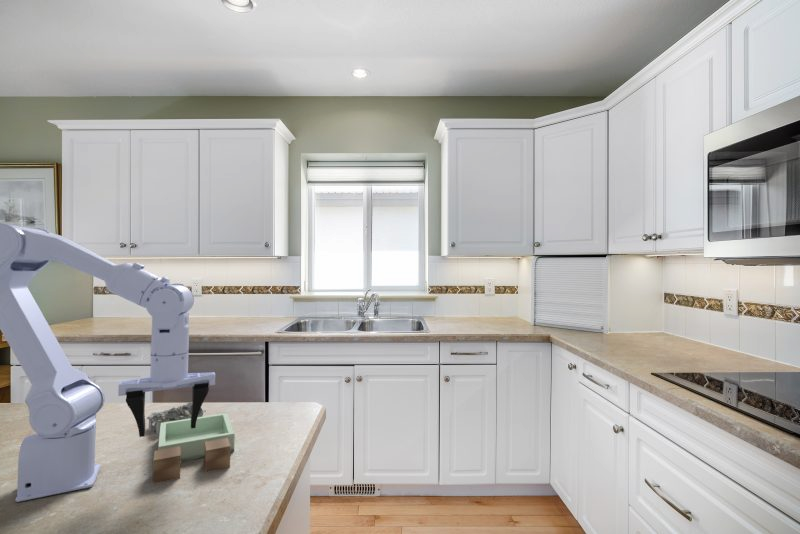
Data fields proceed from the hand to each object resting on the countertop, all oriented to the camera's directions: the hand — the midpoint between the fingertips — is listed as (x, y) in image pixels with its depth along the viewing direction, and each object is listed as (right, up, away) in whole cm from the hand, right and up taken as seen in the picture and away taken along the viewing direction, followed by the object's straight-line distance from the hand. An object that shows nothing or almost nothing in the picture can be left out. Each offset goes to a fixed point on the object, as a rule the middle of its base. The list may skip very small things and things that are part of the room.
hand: (168, 430), depth 69 cm
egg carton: (-11, -9, +22) cm, 26 cm away
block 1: (0, -8, 0) cm, 8 cm away
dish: (-1, -8, +12) cm, 14 cm away
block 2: (+7, -8, +4) cm, 11 cm away
